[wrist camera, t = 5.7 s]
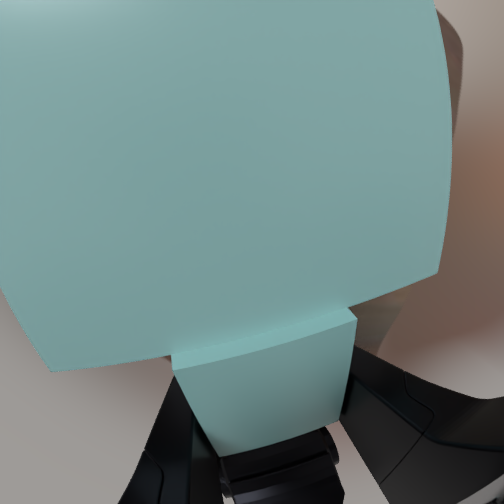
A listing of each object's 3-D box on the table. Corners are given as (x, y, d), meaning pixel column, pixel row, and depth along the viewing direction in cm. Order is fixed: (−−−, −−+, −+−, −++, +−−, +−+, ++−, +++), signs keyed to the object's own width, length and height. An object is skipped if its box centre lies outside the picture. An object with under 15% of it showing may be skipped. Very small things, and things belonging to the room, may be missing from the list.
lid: (386, 354, 9) (411, 384, 7) (128, 426, 7) (128, 467, 6) (389, -22, 4) (434, -38, 2) (-8, 21, 2) (-47, 4, 1)
